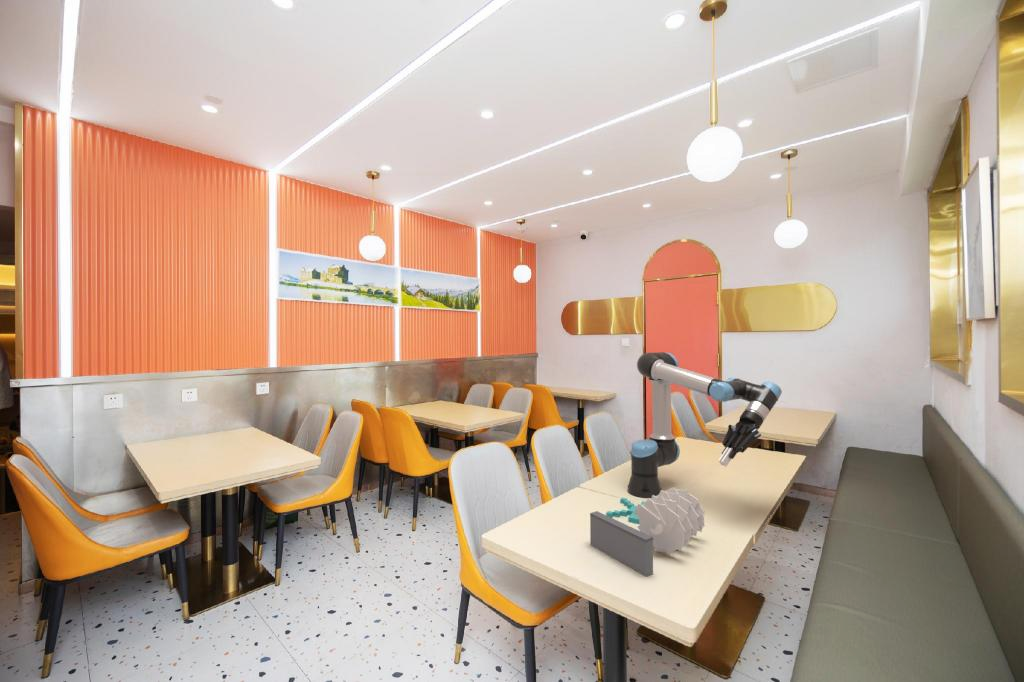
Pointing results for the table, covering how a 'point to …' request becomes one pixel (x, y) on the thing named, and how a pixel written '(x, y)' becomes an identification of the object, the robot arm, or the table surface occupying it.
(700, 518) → the spiral staircase
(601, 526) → the slate board
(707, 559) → the table surface
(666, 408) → the robot arm
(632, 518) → the alien figure
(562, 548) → the table surface
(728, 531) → the table surface
